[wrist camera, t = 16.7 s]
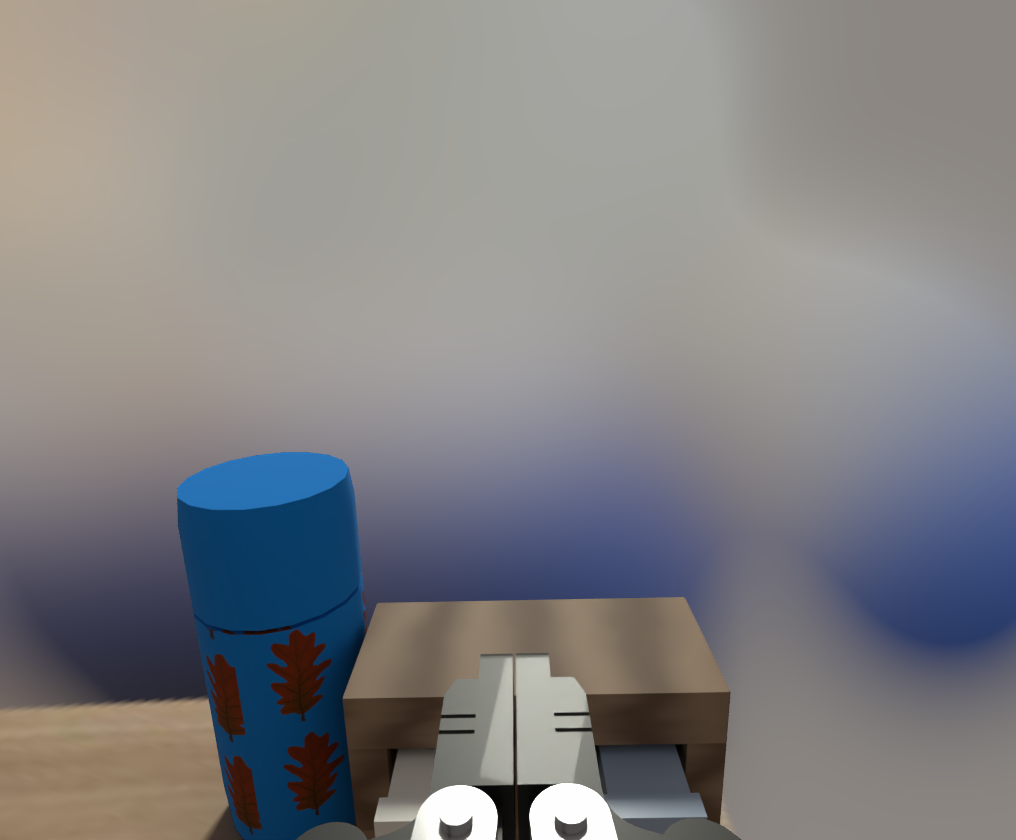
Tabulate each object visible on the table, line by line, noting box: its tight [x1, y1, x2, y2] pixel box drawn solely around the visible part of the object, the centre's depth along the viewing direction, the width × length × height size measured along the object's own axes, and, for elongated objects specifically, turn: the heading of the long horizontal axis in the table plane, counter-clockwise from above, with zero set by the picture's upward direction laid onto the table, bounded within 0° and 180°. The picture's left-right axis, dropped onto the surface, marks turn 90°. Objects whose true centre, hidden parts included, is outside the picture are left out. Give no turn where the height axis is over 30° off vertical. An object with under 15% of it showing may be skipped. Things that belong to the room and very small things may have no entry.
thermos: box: [177, 452, 367, 840], centre depth 45 cm, size 11×11×25 cm
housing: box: [343, 597, 730, 840], centre depth 43 cm, size 22×10×14 cm, turn 90°
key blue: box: [595, 744, 707, 835], centre depth 39 cm, size 5×12×5 cm, turn 0°
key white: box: [374, 748, 436, 838], centre depth 39 cm, size 5×12×5 cm, turn 0°
